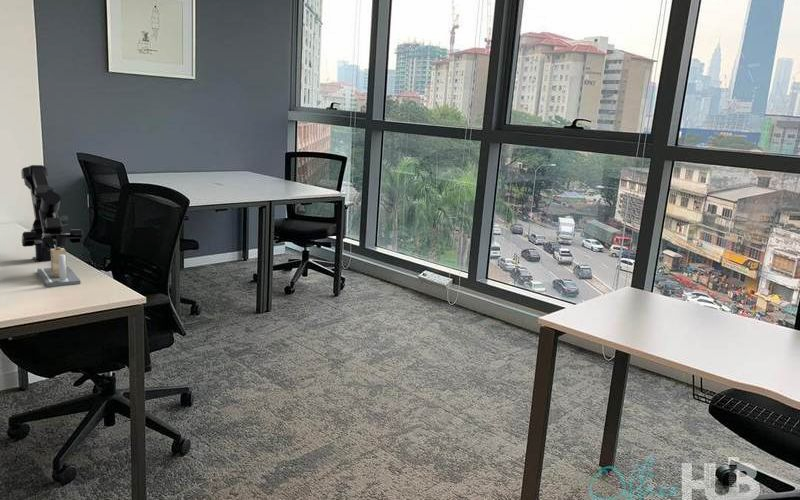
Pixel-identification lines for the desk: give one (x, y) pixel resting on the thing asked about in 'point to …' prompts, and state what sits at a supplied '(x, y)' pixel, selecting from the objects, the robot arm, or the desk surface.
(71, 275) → the gauge board
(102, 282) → the desk surface
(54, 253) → the pointer block
